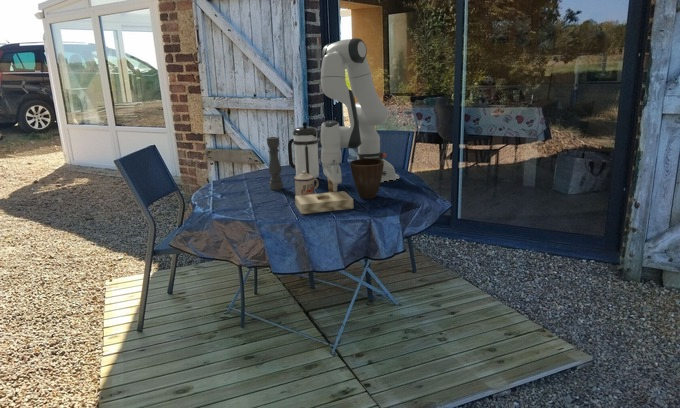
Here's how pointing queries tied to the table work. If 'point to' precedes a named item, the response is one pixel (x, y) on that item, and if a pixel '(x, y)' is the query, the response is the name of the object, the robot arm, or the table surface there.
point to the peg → (330, 186)
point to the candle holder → (274, 163)
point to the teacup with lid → (305, 184)
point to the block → (323, 202)
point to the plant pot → (367, 176)
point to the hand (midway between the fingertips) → (332, 189)
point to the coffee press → (305, 151)
